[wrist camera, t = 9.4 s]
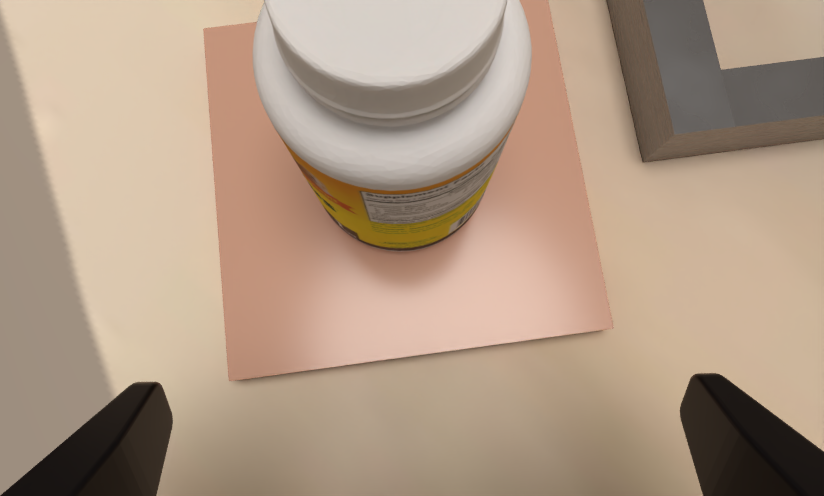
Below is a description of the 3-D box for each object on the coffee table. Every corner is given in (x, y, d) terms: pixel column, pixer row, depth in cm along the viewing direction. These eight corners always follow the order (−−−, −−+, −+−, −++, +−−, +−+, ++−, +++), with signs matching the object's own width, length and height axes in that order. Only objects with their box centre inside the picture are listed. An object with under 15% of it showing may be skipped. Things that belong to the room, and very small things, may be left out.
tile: (603, 330, 19) (613, 328, 18) (238, 380, 19) (228, 381, 18) (539, 3, 21) (545, -13, 20) (213, 44, 21) (203, 28, 20)
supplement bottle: (307, 106, 20) (194, -161, 10) (470, 84, 20) (529, -203, 10) (326, 269, 19) (222, 160, 9) (498, 244, 19) (597, 108, 9)
